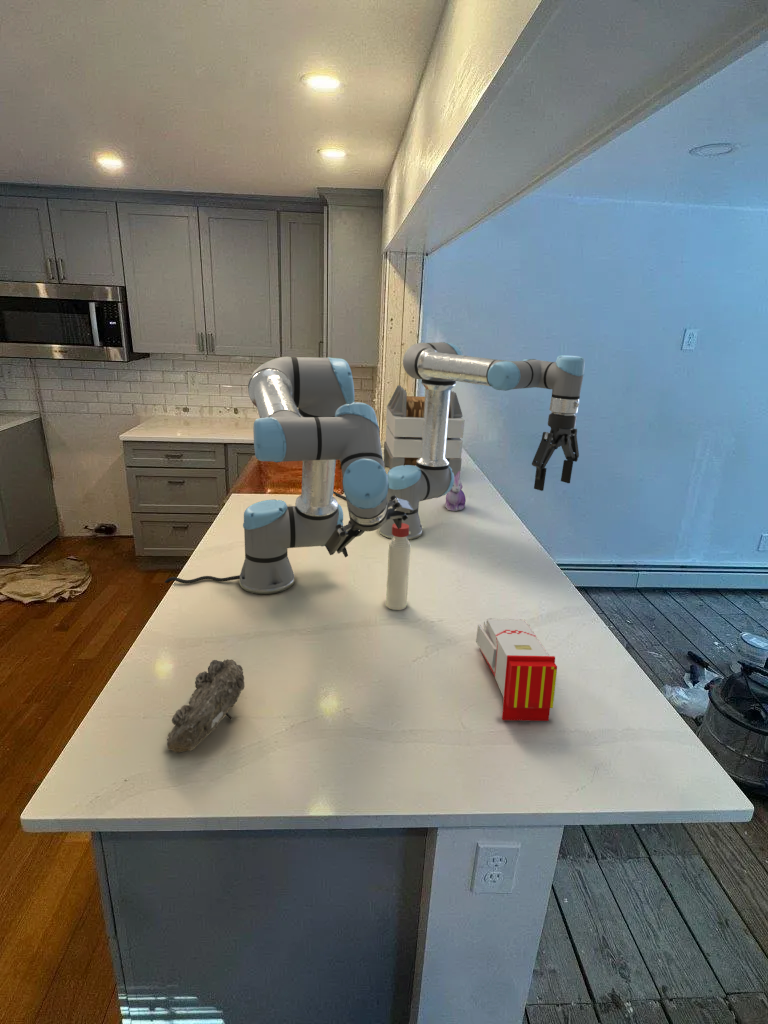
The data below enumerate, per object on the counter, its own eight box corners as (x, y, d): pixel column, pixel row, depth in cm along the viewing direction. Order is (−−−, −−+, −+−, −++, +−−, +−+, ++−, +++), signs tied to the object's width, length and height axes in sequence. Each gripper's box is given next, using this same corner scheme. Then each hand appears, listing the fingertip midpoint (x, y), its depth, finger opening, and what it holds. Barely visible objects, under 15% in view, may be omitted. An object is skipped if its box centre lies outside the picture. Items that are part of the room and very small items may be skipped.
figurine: (452, 513, 222) (455, 476, 217) (438, 505, 231) (441, 469, 226) (471, 510, 227) (475, 474, 221) (457, 502, 235) (460, 467, 230)
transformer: (382, 463, 289) (386, 382, 275) (445, 464, 293) (451, 384, 279) (390, 482, 257) (394, 392, 243) (460, 483, 261) (468, 394, 247)
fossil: (192, 660, 117) (244, 628, 112) (224, 691, 120) (276, 661, 115) (142, 746, 98) (202, 712, 93) (182, 779, 101) (242, 748, 96)
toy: (523, 604, 135) (566, 662, 106) (518, 656, 138) (559, 727, 109) (472, 603, 135) (501, 661, 105) (468, 655, 138) (496, 726, 108)
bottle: (406, 600, 155) (411, 523, 147) (406, 610, 149) (411, 531, 142) (385, 599, 155) (389, 522, 147) (385, 609, 149) (389, 530, 142)
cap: (408, 531, 147) (408, 523, 146) (408, 537, 143) (409, 529, 142) (391, 530, 147) (392, 522, 146) (391, 536, 143) (392, 528, 142)
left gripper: (318, 555, 105) (329, 578, 125) (434, 493, 109) (426, 525, 129) (300, 521, 107) (313, 549, 127) (414, 462, 111) (410, 498, 131)
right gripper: (548, 419, 148) (537, 496, 155) (598, 411, 163) (586, 482, 171) (525, 414, 153) (515, 489, 160) (575, 407, 169) (564, 476, 176)
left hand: (370, 537), depth 128 cm, fingers open, 13 cm apart
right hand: (552, 485), depth 166 cm, fingers open, 13 cm apart
